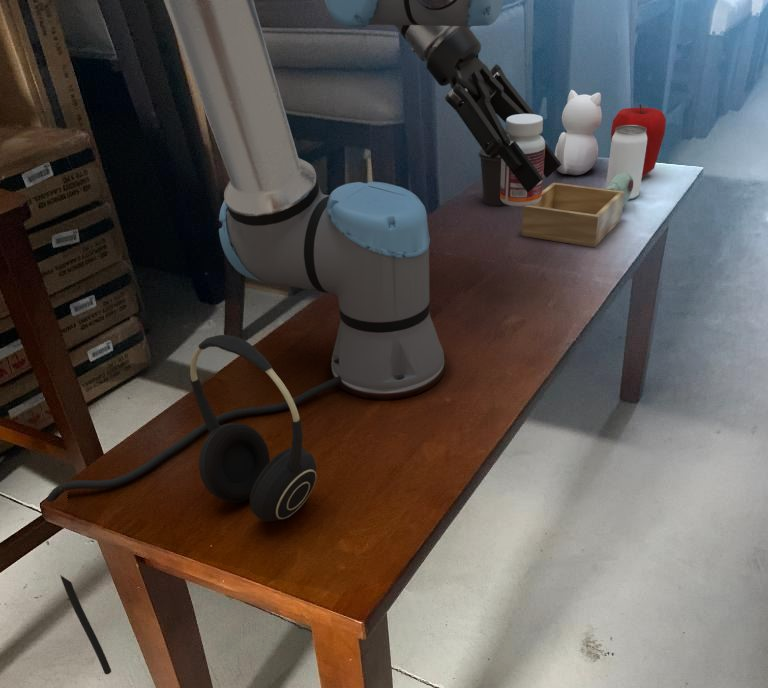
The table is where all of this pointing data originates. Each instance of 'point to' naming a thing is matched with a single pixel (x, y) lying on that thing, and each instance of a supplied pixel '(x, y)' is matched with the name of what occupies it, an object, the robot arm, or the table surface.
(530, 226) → the holder
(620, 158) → the can
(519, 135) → the pill bottle
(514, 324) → the table surface
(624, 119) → the apple
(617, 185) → the green rounded faceted piece
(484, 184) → the coffee cup
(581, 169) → the cat figurine
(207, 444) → the headphones
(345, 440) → the table surface
